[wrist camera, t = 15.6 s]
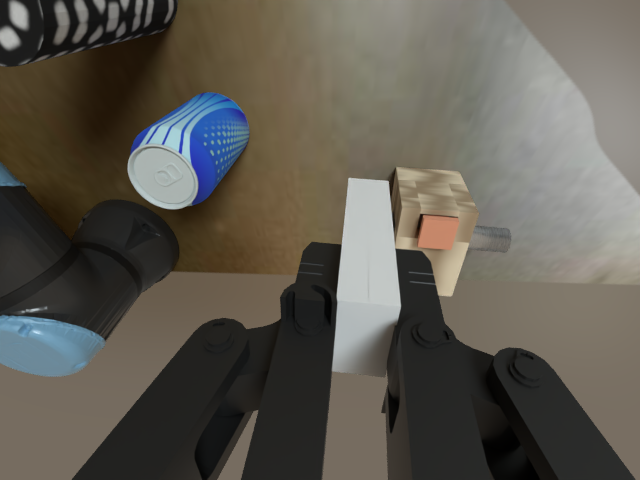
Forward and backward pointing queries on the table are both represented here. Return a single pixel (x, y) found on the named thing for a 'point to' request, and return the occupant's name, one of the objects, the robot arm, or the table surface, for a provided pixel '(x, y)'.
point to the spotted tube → (75, 26)
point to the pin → (485, 238)
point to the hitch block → (435, 199)
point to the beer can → (188, 151)
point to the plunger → (437, 231)
